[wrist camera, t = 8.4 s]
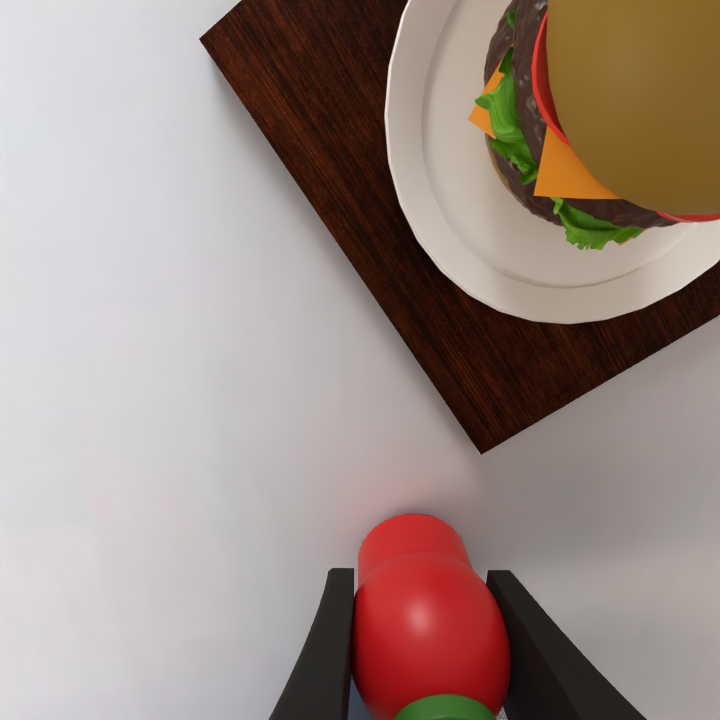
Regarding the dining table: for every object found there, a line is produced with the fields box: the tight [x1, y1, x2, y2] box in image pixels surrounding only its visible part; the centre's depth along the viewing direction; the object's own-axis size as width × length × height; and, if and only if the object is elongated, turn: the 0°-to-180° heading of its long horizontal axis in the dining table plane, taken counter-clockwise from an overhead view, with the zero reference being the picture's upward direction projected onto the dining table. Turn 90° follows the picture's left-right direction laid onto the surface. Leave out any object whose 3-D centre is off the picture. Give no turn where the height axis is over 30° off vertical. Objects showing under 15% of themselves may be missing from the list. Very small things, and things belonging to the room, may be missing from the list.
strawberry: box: [350, 514, 511, 720], centre depth 9 cm, size 4×4×6 cm
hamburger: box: [199, 0, 720, 455], centre depth 6 cm, size 12×12×6 cm
